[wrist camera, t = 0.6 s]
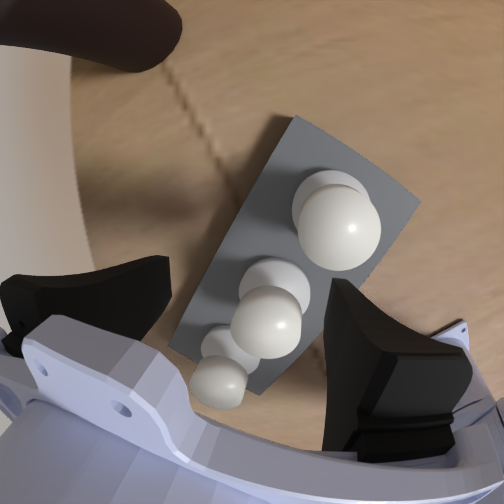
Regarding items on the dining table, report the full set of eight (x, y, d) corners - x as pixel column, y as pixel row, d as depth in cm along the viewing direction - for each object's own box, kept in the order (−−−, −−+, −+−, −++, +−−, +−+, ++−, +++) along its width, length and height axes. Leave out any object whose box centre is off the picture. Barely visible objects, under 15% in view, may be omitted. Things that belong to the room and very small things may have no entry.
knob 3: (344, 268, 15) (349, 284, 14) (284, 231, 15) (281, 243, 13) (385, 210, 14) (396, 220, 12) (324, 168, 14) (327, 171, 12)
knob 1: (233, 397, 21) (227, 415, 19) (190, 374, 21) (181, 391, 19) (257, 372, 19) (252, 392, 17) (209, 346, 19) (200, 364, 17)
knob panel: (262, 381, 27) (257, 403, 24) (175, 333, 26) (163, 352, 24) (411, 196, 18) (427, 204, 15) (296, 117, 18) (295, 112, 15)
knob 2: (279, 348, 18) (276, 368, 16) (227, 319, 18) (219, 337, 16) (314, 306, 17) (314, 325, 15) (258, 273, 16) (251, 289, 15)
